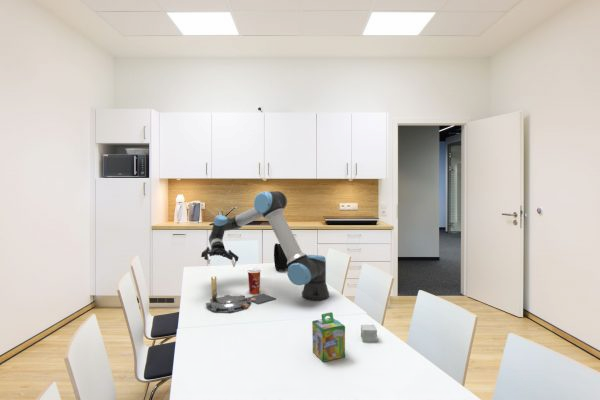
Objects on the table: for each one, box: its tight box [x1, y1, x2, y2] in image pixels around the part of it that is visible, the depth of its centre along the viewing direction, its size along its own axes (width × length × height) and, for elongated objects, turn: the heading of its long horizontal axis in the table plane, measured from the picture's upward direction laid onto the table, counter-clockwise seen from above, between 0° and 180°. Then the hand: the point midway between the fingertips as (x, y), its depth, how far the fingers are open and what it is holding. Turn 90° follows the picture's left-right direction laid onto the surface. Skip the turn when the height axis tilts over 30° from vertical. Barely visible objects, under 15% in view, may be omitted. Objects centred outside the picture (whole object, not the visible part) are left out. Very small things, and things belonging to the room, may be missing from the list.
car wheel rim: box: [273, 243, 288, 272], centre depth 259 cm, size 20×10×20 cm, turn 14°
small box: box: [360, 324, 378, 343], centre depth 139 cm, size 6×6×5 cm
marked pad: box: [245, 293, 277, 305], centre depth 191 cm, size 12×12×1 cm
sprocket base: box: [206, 302, 251, 314], centre depth 181 cm, size 22×22×1 cm
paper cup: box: [247, 267, 262, 295], centre depth 202 cm, size 8×8×14 cm
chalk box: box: [311, 311, 346, 363], centre depth 127 cm, size 9×9×15 cm
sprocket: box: [205, 276, 253, 311], centre depth 181 cm, size 23×23×13 cm
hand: (221, 263), depth 185 cm, fingers open, 13 cm apart
